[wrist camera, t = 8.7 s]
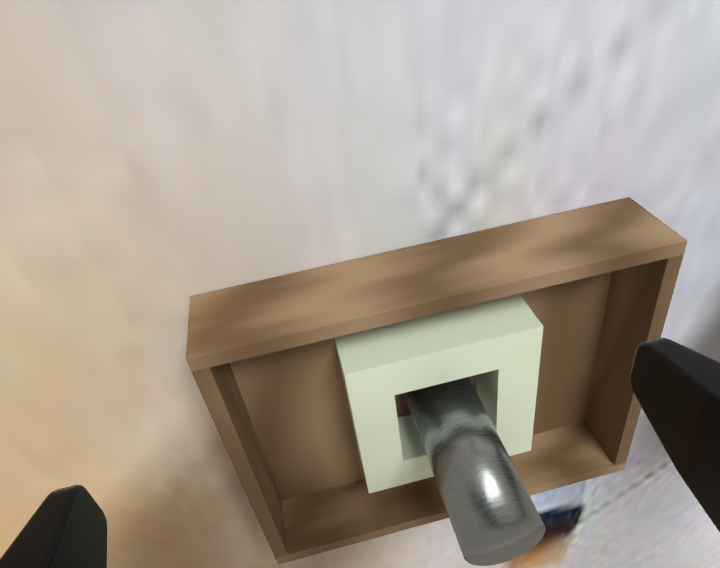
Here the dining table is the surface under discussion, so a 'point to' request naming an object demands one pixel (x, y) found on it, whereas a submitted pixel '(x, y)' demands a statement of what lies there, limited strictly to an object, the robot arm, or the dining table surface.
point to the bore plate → (440, 380)
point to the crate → (331, 409)
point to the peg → (474, 474)
